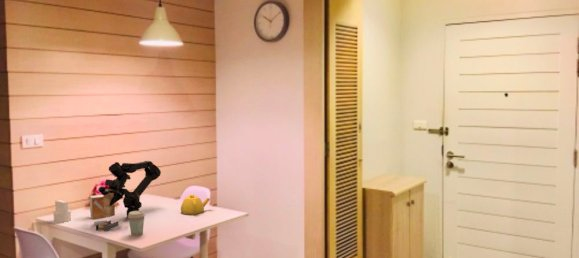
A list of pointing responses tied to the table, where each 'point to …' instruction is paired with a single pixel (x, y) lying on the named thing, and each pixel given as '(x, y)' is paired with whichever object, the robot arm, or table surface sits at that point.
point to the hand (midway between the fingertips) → (107, 205)
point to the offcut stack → (101, 226)
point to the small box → (97, 206)
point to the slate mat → (99, 222)
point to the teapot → (193, 205)
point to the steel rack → (109, 225)
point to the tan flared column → (108, 206)
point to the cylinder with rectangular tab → (61, 212)
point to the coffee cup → (136, 222)
